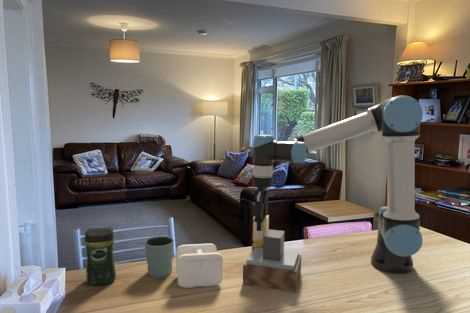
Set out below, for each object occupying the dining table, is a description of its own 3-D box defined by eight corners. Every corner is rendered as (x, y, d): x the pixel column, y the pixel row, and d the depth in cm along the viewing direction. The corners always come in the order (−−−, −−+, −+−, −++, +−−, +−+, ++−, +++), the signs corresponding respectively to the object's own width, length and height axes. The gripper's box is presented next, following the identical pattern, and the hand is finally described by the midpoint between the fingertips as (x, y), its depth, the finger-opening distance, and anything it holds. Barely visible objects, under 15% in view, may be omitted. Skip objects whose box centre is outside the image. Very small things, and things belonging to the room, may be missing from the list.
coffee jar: (116, 274, 134) (115, 224, 132) (114, 284, 127) (113, 231, 124) (87, 276, 132) (85, 225, 130) (84, 287, 124) (82, 233, 122)
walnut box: (302, 264, 146) (303, 243, 144) (295, 292, 124) (296, 267, 123) (256, 258, 151) (256, 238, 150) (241, 284, 129) (241, 260, 128)
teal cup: (179, 270, 139) (179, 238, 137) (162, 281, 130) (162, 247, 128) (156, 264, 143) (156, 234, 142) (139, 275, 134) (138, 242, 133)
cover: (298, 255, 136) (299, 230, 135) (293, 270, 124) (294, 242, 123) (255, 250, 141) (255, 225, 140) (246, 264, 128) (247, 237, 127)
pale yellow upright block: (268, 241, 146) (269, 215, 145) (264, 248, 139) (264, 221, 137) (255, 239, 148) (256, 214, 146) (250, 246, 140) (251, 220, 139)
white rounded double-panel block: (218, 273, 137) (218, 242, 135) (222, 287, 127) (223, 253, 125) (176, 276, 134) (176, 244, 132) (177, 290, 124) (177, 256, 122)
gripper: (257, 171, 151) (256, 227, 154) (246, 179, 134) (245, 242, 137) (276, 172, 149) (274, 229, 152) (267, 181, 132) (265, 245, 135)
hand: (260, 235), depth 144 cm, fingers closed on pale yellow upright block, 5 cm apart
